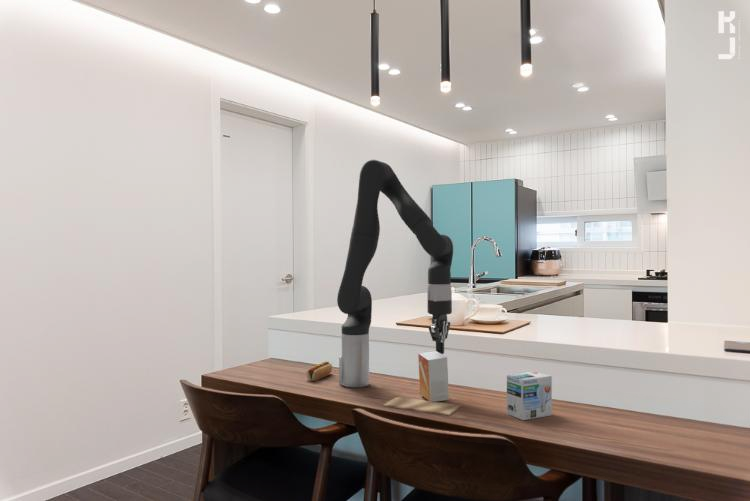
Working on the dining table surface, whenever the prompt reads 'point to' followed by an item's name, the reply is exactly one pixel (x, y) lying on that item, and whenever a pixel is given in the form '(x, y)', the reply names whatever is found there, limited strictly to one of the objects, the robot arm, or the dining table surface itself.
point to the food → (319, 371)
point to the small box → (433, 376)
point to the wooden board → (422, 406)
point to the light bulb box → (529, 395)
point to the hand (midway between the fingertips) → (440, 353)
